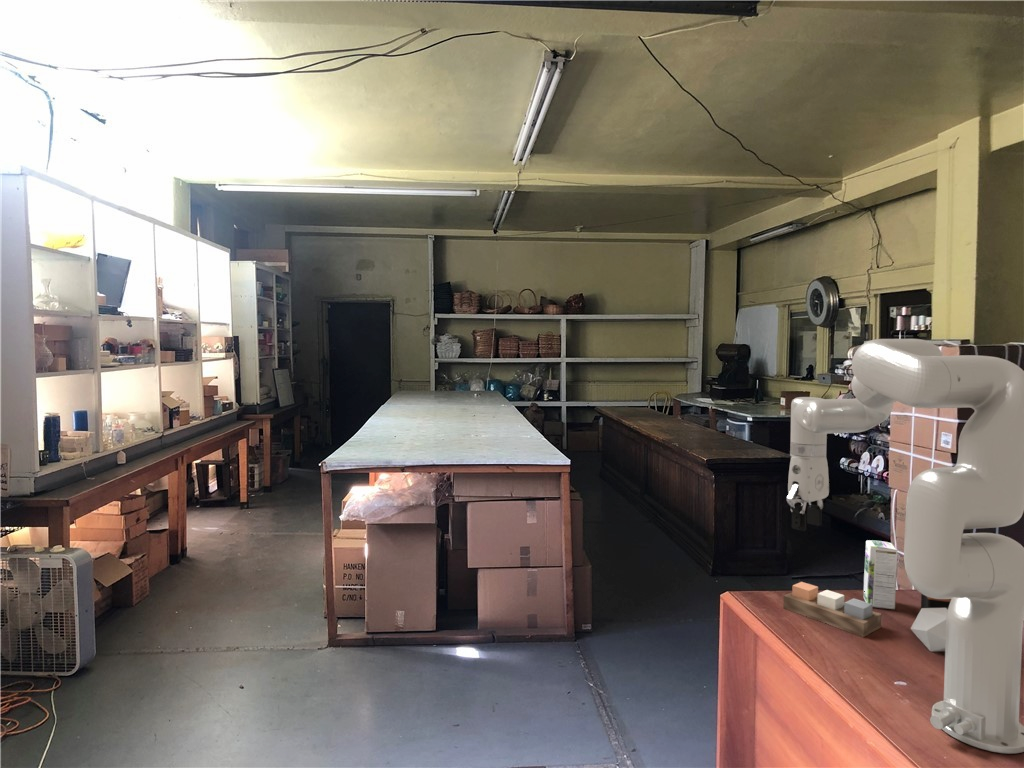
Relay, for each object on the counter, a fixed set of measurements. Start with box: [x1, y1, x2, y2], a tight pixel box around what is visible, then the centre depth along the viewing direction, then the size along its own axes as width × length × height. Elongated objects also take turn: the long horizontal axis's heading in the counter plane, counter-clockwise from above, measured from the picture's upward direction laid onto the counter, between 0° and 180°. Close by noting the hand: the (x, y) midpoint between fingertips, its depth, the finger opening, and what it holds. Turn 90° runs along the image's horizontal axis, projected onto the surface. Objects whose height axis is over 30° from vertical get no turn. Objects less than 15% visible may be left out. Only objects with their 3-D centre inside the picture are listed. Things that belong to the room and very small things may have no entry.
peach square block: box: [791, 581, 819, 601], centre depth 143 cm, size 4×4×3 cm
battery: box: [920, 593, 951, 609], centre depth 136 cm, size 4×7×10 cm, turn 158°
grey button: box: [844, 597, 874, 620], centre depth 133 cm, size 4×4×3 cm
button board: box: [782, 592, 882, 638], centre depth 138 cm, size 18×8×3 cm, turn 35°
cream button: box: [817, 589, 845, 610], centre depth 138 cm, size 4×4×3 cm
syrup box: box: [863, 539, 898, 610], centre depth 145 cm, size 6×6×14 cm
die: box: [910, 607, 948, 652], centre depth 123 cm, size 8×9×10 cm
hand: (806, 526), depth 142 cm, fingers open, 5 cm apart
